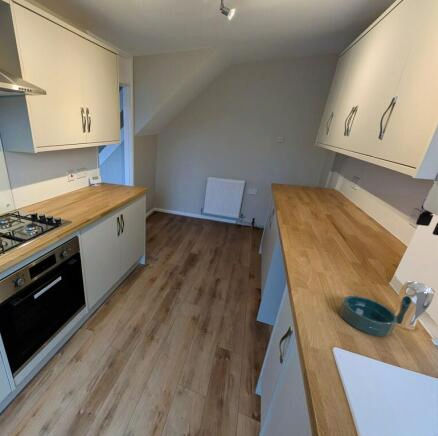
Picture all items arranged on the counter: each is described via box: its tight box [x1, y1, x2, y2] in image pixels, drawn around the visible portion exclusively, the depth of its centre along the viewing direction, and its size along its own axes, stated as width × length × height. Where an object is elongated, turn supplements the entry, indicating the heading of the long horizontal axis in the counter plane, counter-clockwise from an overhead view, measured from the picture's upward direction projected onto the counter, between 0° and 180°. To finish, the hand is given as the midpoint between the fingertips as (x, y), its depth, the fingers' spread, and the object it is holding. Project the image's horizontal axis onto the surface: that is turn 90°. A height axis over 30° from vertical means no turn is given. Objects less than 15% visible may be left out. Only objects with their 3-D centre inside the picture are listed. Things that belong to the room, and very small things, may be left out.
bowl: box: [339, 295, 397, 337], centre depth 81 cm, size 14×14×6 cm
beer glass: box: [393, 280, 436, 331], centre depth 79 cm, size 7×7×15 cm
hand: (430, 229), depth 80 cm, fingers open, 9 cm apart
